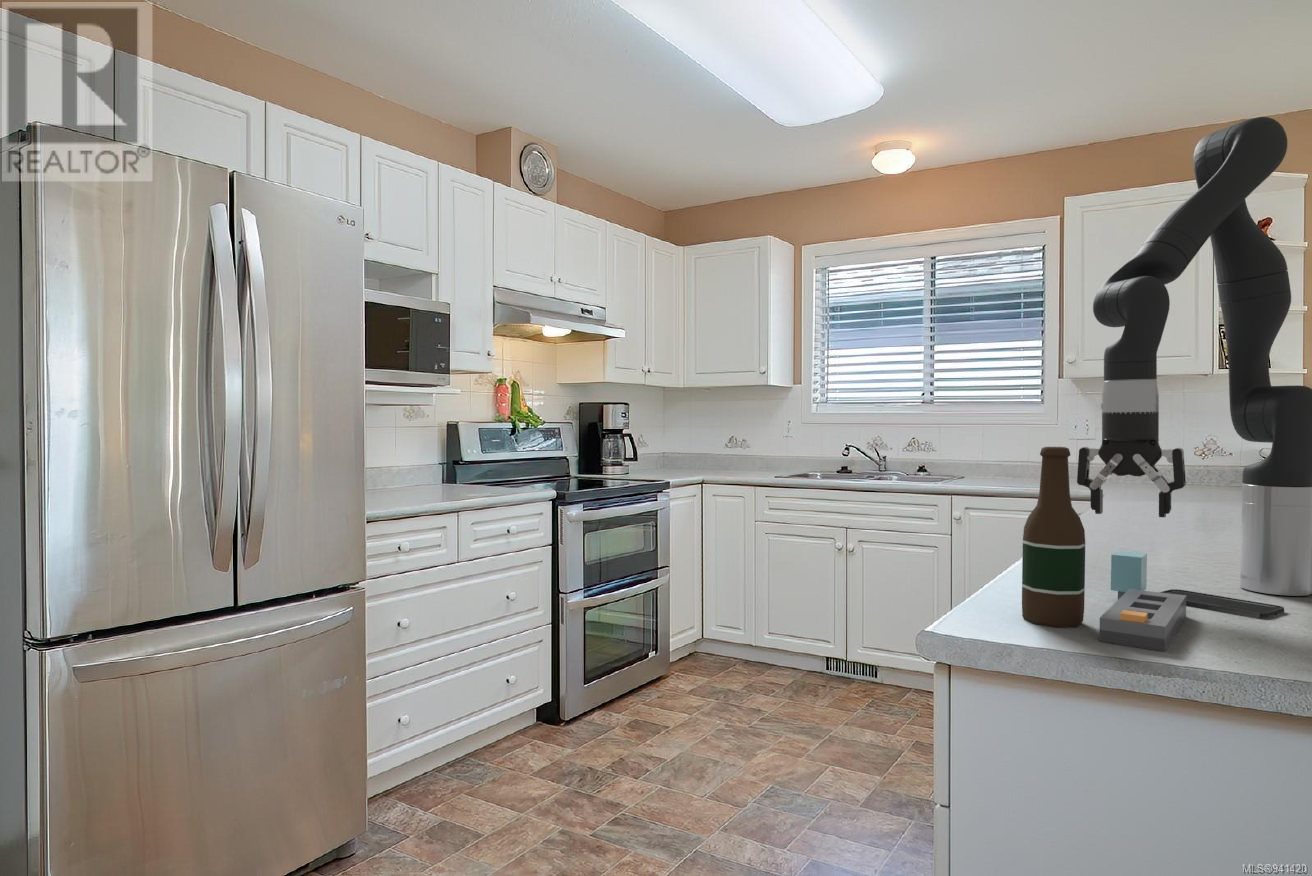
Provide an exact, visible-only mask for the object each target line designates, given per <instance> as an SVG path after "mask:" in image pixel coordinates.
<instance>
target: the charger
mask: <svg viewBox="0 0 1312 876" xmlns="http://www.w3.org/2000/svg"><path fill="white" fill-rule="evenodd" d="M1110 555H1111V558H1110V559H1111V560H1110V591H1114V592H1117V600H1118V599H1119V598H1120V597H1121V596H1123V595H1124V594H1125V593H1126V592H1127V591H1128V590H1129V589H1135V590H1144V591H1146V590H1147V582H1148V581H1147V579H1148V578H1147V575H1148V574H1147V573H1148V571H1147V570H1148V566H1147V565H1148V553H1147V552H1137V551H1136V552H1135V551H1128V550H1127V551H1126V550H1116V551H1114V552H1112V554H1110Z"/></svg>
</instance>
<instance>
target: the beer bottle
mask: <svg viewBox="0 0 1312 876" xmlns="http://www.w3.org/2000/svg"><path fill="white" fill-rule="evenodd" d="M1039 455H1040V456H1041V467H1040V468H1041V469H1040V482H1039V491H1038V492H1039V493H1038V498H1037V502H1036V506H1035V507H1034V509H1033V510H1032V511H1031V512H1030V514H1029V515H1028V517H1027V519H1026V521H1025V524H1024V526H1023V532H1022V533H1023V534H1022V560H1021V561H1022V562H1021V563H1022V564H1021V565H1022V566H1021V568H1022V569H1021V571H1022V572H1021V613H1022V614H1021V616H1022V617H1023V619H1024V620H1025V621H1028V622H1029V623H1032V624H1034V625H1039V626H1043V627H1044V626H1045V627H1050V628H1051V627H1052V628H1077V627H1079V626H1080V625H1081V624H1083V622H1084V617H1085V615H1084V614H1085V590H1086V589H1085V588H1086V587H1085V585H1086V584H1085V583H1086V581H1085V580H1086V534H1085V533H1086V531H1085V528H1084V525H1083V522H1082V520H1081V516H1080V515H1079V514H1078V513H1077V512H1076V510H1075V509H1074V507H1073V505H1072V499H1071V493H1070V491H1071V490H1070V474H1069V473H1070V471H1069V457H1070V456H1071V451H1070V448H1068V447H1066V446H1044V447H1042V448H1041V450H1040V452H1039Z"/></svg>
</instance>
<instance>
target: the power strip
mask: <svg viewBox="0 0 1312 876" xmlns="http://www.w3.org/2000/svg"><path fill="white" fill-rule="evenodd" d="M1161 592H1162V591H1150V590H1135V589H1129V590H1128V591H1127V592H1126V593H1125V594H1124V595H1123V596H1121V597H1120V598H1119V599H1118V598H1117V600H1116V601H1115V602H1114V603H1113V604H1112V605H1111V606H1110V607H1109V608H1108V609H1107V610H1105V612H1103V614H1102V615H1100V617H1099V629H1098V630H1099V635H1098V637H1099V638H1098V641H1099V642H1100V643H1101V642H1102V643H1108V644H1115V645H1121V646H1127V647H1132V648H1133V647H1134V648H1140V649H1146V650H1152V651H1160V652H1166V651H1167V649H1168V647H1169V645H1170V644H1171V643H1172V641H1173V640H1174V638H1175V636H1176V634H1177V633H1178V631H1179V629H1180V627H1181V626H1182V624H1183V622H1184V620H1185V619H1186V617H1187V606H1186V595H1178V594H1169V593H1161Z"/></svg>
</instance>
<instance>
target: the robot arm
mask: <svg viewBox="0 0 1312 876" xmlns="http://www.w3.org/2000/svg"><path fill="white" fill-rule="evenodd" d="M1287 151H1288V136H1287V133H1286V131H1285V129H1284V127H1283V125H1281V123H1280V122H1279V121H1278V120H1275V119H1274V118H1271V117H1268V116H1257V117H1252V118H1249V119H1245V120H1243V121H1240V122H1238V123H1235V124H1231V125H1230V126H1227V127H1224V128H1221V129H1218V130H1215V131H1213V132H1210V133H1209V134H1207V135H1205V136H1203V137H1202V138H1201V139H1200V140H1199V141H1198V143H1197V144H1196V146H1195V148H1194V152H1193V159H1192V160H1193V161H1192V162H1193V165H1192V166H1193V171H1194V172H1193V173H1194V178H1195V182H1196V185H1197V189H1198V190H1197V191H1195V192H1194V193H1193V194H1192V195H1191V196H1189V197H1188V198H1187V199H1186V200H1185V201H1183V202H1182V203H1180V204H1179V205H1178V206H1177V207H1176V208H1175V209H1174V210H1172V211H1171V212H1170V213H1168V215H1166V217H1164V218H1163V219H1162V221H1161V222H1160V223H1158V224H1157V226H1156V227H1155V228H1154V230H1153V231H1152V232H1151V233H1150V235H1149V236H1148V238H1146V240H1145V241H1144V243H1143V244H1142V246H1141V247H1140V248H1139V250H1138V251H1137V253H1136V254H1135V255H1133V256H1132V257H1131V258H1130V259H1129V260H1128V261H1126V262H1125V263H1124V264H1123V265H1122V266H1120V267H1119V269H1117V270H1116V271H1115V272H1114V273H1113V274H1112V275H1111V276H1109V277H1108V278H1107V279H1106V280H1105V281H1104V282H1103V283H1102V284H1101V286H1100V287H1099V288H1098V291H1097V292H1096V294H1095V296H1094V300H1093V302H1092V303H1093V304H1092V310H1093V311H1092V312H1093V313H1092V314H1093V316H1094V318H1095V319H1096V321H1097V322H1098V323H1100V324H1101V325H1103V326H1105V327H1109V328H1122V327H1123V332H1122V334H1121V337H1120V338H1119V339H1118V340H1117V341H1115V342H1112V343H1111V344H1109V345H1107V346H1106V347H1105V348H1104V349H1105V350H1104V353H1103V354H1104V355H1103V385H1102V386H1103V387H1102V393H1101V404H1100V409H1101V445H1100V447H1099V448H1093V447H1087V446H1083V447H1080V448H1079V449H1078V461H1077V475H1076V476H1077V477H1076V482H1077V484H1078V485H1079V486H1083V487H1086V488H1088V490H1090V508H1091V510H1092V511H1094V513H1095V515H1101V514H1103V511H1104V507H1103V506H1104V503H1103V502H1104V499H1103V498H1104V497H1103V496H1104V493H1103V492H1104V490H1103V489H1102V486H1103V485H1104V484H1105V483H1106V481H1107V480H1108V479H1109V478H1110V477H1111V476H1112V475H1113V474H1114V475H1116V476H1118V477H1122V476H1123V477H1124V476H1133V477H1143V476H1145V475H1146V476H1147V477H1148V478H1149V479H1150V481H1152V483H1154V484H1155V485H1156V486H1157V488H1158V489H1159V490H1160V491H1159V492H1158V517H1159V518H1166V517H1167V514H1168V515H1169V514H1170V513H1171V510H1172V492H1173V491H1177V490H1181V489H1183V488H1184V487H1186V485H1187V482H1186V469H1185V465H1186V464H1185V453H1184V449H1183V448H1181V447H1176V448H1173V449H1171V448H1170V449H1162V448H1161V446H1160V443H1159V440H1160V438H1159V433H1160V431H1159V430H1160V427H1159V425H1160V424H1159V423H1160V421H1159V420H1160V415H1159V412H1160V411H1159V409H1160V406H1159V404H1160V403H1159V401H1160V400H1159V399H1160V397H1159V395H1160V394H1159V389H1158V380H1157V375H1158V374H1157V371H1158V368H1157V365H1158V363H1157V361H1158V359H1157V357H1158V356H1157V354H1158V351H1159V346H1160V344H1161V341H1162V338H1163V334H1164V332H1165V331H1164V330H1165V326H1166V323H1167V319H1168V316H1169V311H1170V305H1171V303H1170V301H1171V300H1170V295H1169V291H1168V289H1167V286H1166V285H1168V284H1170V283H1172V282H1174V281H1176V279H1178V278H1179V277H1180V276H1181V275H1182V274H1183V273H1184V272H1185V270H1186V269H1187V268H1188V266H1189V265H1190V263H1191V262H1192V261H1193V259H1194V258H1195V256H1197V254H1198V253H1199V251H1200V250H1201V248H1202V247H1203V245H1204V244H1205V243H1206V242H1207V241H1208V239H1209V238H1210V242H1211V248H1212V254H1213V259H1214V267H1215V273H1216V274H1215V275H1216V283H1217V291H1218V298H1219V304H1220V309H1221V313H1222V318H1223V320H1222V321H1223V326H1224V335H1225V342H1226V343H1225V344H1226V352H1227V361H1228V362H1227V363H1228V364H1227V365H1228V391H1229V392H1228V394H1229V395H1228V396H1229V412H1230V419H1231V423H1232V425H1233V429H1234V430H1235V432H1236V433H1237V435H1238V436H1239V437H1240V438H1241V439H1243V440H1244V441H1246V442H1247V441H1248V442H1252V443H1268V444H1269V443H1272V444H1271V449H1270V450H1271V451H1270V453H1269V454H1268V455H1267V456H1266V457H1264V459H1262V460H1260V461H1258V462H1255V463H1252V464H1248V465H1246V466H1245V467H1244V468H1243V470H1242V477H1241V478H1242V479H1241V480H1242V481H1241V482H1242V484H1241V485H1242V486H1241V487H1242V488H1241V490H1242V491H1241V534H1240V535H1241V537H1240V572H1239V573H1240V575H1239V579H1240V580H1239V581H1240V582H1239V586H1240V588H1242V589H1244V590H1246V591H1251V592H1256V593H1263V594H1266V595H1267V594H1268V595H1278V596H1290V597H1291V596H1293V597H1294V596H1295V597H1301V596H1302V597H1303V596H1310V595H1312V388H1311V387H1309V386H1306V385H1272V384H1271V377H1270V363H1269V362H1270V354H1271V349H1272V348H1273V347H1272V346H1273V344H1274V343H1275V339H1276V337H1277V336H1278V333H1279V332H1280V330H1281V328H1282V326H1283V324H1284V322H1285V319H1286V317H1287V315H1288V313H1289V311H1290V307H1291V304H1292V290H1291V285H1290V284H1291V283H1290V276H1289V271H1288V264H1287V261H1286V258H1285V256H1284V254H1283V252H1281V250H1280V249H1279V247H1278V246H1277V245H1276V244H1275V242H1274V241H1272V239H1271V238H1270V237H1269V236H1268V235H1267V234H1266V233H1265V232H1264V231H1263V230H1262V229H1261V227H1259V226H1258V224H1257V223H1256V222H1255V221H1254V218H1252V216H1251V213H1250V212H1249V208H1248V206H1247V202H1246V198H1248V197H1249V196H1250V195H1251V194H1252V192H1254V191H1255V190H1256V189H1257V188H1258V187H1259V186H1260V185H1261V184H1263V182H1264V181H1265V180H1267V178H1269V177H1270V176H1271V175H1272V174H1273V173H1274V172H1275V171H1276V170H1277V168H1278V167H1279V166H1280V165H1281V164H1282V162H1283V161H1284V159H1285V158H1286V153H1287ZM1097 456H1099V458H1100V459H1101V460H1102V462H1103V464H1105V465H1104V467H1103V468H1102V469H1101V470H1100V471H1099V473H1098V474H1097V475H1096V477H1095V478H1094V479H1092V478H1090V465H1091V462H1093V461H1094V460H1095V459H1096V457H1097ZM1162 457H1165V458H1166V461H1167V462H1168V463H1169V464H1172V470H1173V471H1172V472H1173V481H1170V482H1169V481H1168V480H1167V479H1166V478H1165V477H1164V475H1163V473H1162V472H1161V471H1160V470H1159V469H1158V468H1157V467H1156V466H1155V465H1157V464H1158V462H1159V461H1160V459H1162Z"/></svg>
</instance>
